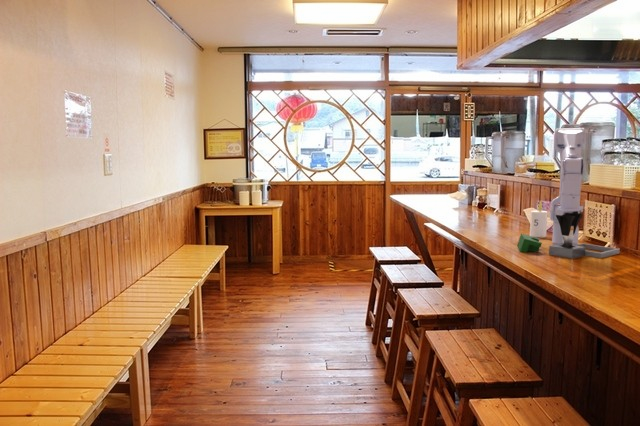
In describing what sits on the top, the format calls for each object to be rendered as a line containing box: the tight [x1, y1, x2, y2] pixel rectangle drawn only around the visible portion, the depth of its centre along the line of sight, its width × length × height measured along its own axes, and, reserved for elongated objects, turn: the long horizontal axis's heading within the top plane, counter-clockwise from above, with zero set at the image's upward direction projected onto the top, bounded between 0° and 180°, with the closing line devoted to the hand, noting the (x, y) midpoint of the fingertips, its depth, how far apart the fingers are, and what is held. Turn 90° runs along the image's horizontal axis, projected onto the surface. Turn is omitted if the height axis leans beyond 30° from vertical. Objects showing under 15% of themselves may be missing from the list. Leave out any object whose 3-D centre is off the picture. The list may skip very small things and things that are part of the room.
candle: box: [529, 200, 549, 238], centre depth 207 cm, size 6×6×15 cm
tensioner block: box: [548, 243, 586, 260], centre depth 166 cm, size 8×8×4 cm
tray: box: [577, 242, 620, 259], centre depth 171 cm, size 13×13×2 cm
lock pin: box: [562, 225, 574, 247], centre depth 166 cm, size 3×3×7 cm
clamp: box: [517, 233, 542, 253], centre depth 176 cm, size 12×6×9 cm, turn 157°
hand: (568, 234), depth 166 cm, fingers closed on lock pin, 3 cm apart
